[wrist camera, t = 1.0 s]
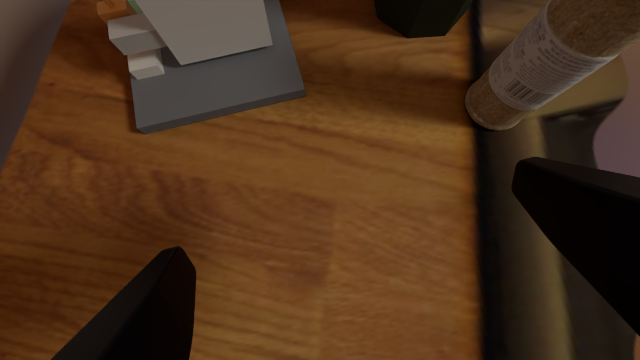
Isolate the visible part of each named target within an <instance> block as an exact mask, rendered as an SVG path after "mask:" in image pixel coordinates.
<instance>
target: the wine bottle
mask: <svg viewBox="0 0 640 360" xmlns="http://www.w3.org/2000/svg"><path fill="white" fill-rule="evenodd" d="M374 1H375V7H376V13H377V18H378V19H380V20H381V21H383V22H384V23H386V24H387V25H389V26H390V27H392V28H393V29H395V30H396V31H398V32H399V33H401V34H402V35H404V36H405V37H407V38H418V37H433V36H445V35H446V34H447V33H448V32H449V30H450V29H451V28H452V27H453V26H454V25H455V23H456V22H457V21H458V20H459V19H460V18H461V17H462V15H463V14H464V13H465V12H466V10H467V9H468V7H469V5H470V4H471V2H472V0H374Z"/></svg>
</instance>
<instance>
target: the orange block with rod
mask: <svg viewBox="0 0 640 360" xmlns="http://www.w3.org/2000/svg"><path fill="white" fill-rule="evenodd" d="M97 12H98V16H99V17H100V18H101V19H102V20H103V21H104V22H105V23H106V25H107V26H108V22H107V20H112V19H117V18H122V17H127V16H132V15H136V14H137V12H136V11H135V10H134V8H133V7H132V6H131V4H130V3H129V2H128V0H103V1H102V2H97Z"/></svg>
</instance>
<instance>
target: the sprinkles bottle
mask: <svg viewBox="0 0 640 360" xmlns="http://www.w3.org/2000/svg"><path fill="white" fill-rule="evenodd" d="M639 40H640V0H550V1H549V2H548V3H547V4H546V5H545V6H544V7H543V8H542V10H541V11H540V12H539V13H538V14H537V15H536V16H535V17H534V18H533V19H532V21H531V22H530V23H529V24H528V25H527V26H526V27H525V28H524V29H523V31H522V32H521V33H520V34H519V35H518V36H517V37H516V38H515V39H514V40H513V41H512V42H511V44H510V45H509V46H508V47H507V48H506V49H505V50H504V51H503V52H502V53H501V54H500V55H499V57H498V58H497V59H496V60H495V61H494V62H493V64H492V65H491V67H490V68H489V69H488V70H487V71H486V72H485V73H484V74H483V75H482V76H481V78H480V79H479V80H478V81H476V82H475V83H473V84H472V85H471V87H470V88H469V89H468V91H467V93H466V96H465V105H466V109H467V111H468V113H469V115H470V116H471V118H472V119H473V120H474V121H475V122H476V123H477V124H479V125H480V126H483V127H485V128H487V129H491V130H497V131H498V130H505V129H509V128H511V127H513V126H515V125H516V124H518V123H519V122H520V120H521V119H522V118H524V117H525V116H527V115H528V114H530V113H531V112H533V111H534V110H536V109H538V108H540V107H541V106H543V105H544V104H546V103H547V102H549V101H550V100H552V99H553V98H555V97H556V96H558V95H559V94H561V93H562V92H564V91H566V90H567V89H569V88H570V87H572V86H573V85H575V84H576V83H578V82H579V81H581V80H582V79H584V78H585V77H587V76H588V75H590V74H591V73H593V72H594V71H596V70H597V69H599V68H600V67H602V66H603V65H605V64H606V63H608V62H609V61H611V60H612V59H614V58H615V57H616V56H617V55H619V54H620V53H621V52H623V51H624V50H626V49H627V48H628V47H630V46H631V45H632V44H634V43H636V42H637V41H639Z"/></svg>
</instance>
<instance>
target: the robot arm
mask: <svg viewBox="0 0 640 360" xmlns="http://www.w3.org/2000/svg"><path fill="white" fill-rule="evenodd" d="M511 188H512V192H513V194H514V196H515V197H516V198H517V200H518V201H519V202H520V203H521V205H522V206H523V207H524V209H525V210H526V211H527V212H528V214H529V215H530V216H531V218H532V219H533V220H534V222H535V223H536V224H537V225H538V227H539V228H540V229H541V231H542V232H543V233H544V234H545V236H546V237H547V238H548V239H549V240H550V242H551V243H552V244H553V245H554V246H555V247H556V248H557V249H558V250H559V251H560V252H561V254H562V255H563V256H564V257H565V258H566V259H567V260H568V261H569V262H570V263H571V264H572V265H573V266H574V267H575V268H576V269H577V270H578V272H579V273H580V274H581V275H582V276H583V277H584V278H585V279H586V280H587V281H588V282H589V283H590V284H591V285H592V286H593V287H594V289H595V290H596V291H597V292H598V293H599V294H600V295H601V296H602V297H603V298H604V299H605V300H606V301H607V302H608V303H609V304H610V306H611V307H612V308H613V309H614V310H615V311H616V312H617V313H618V314H619V315H620V316H621V317H622V318H623V319H624V320H625V321H626V322H627V324H628V325H629V326H630V327H631V328H632V329H633V330H634V331H635V332H636V333H637V334H638V335H639V336H640V178H639V177H634V176H630V175H625V174H620V173H614V172H610V171H605V170H600V169H595V168H590V167H585V166H580V165H575V164H570V163H565V162H560V161H555V160H550V159H545V158H540V157H531V158H527V159H523V160H520V161H518V163H517V164H516V167H515V171H514V176H513V180H512V185H511ZM195 291H196V270H195V267H194V265H193V264H192V262H191V261H190V259H189V258H188V256H187V254H186V253H185V251H184V250H183V249H182V248H181V247H179V246H176V247H172V248H168V249H165V250H162V251H161V252H160V253H159V254H158V255H157V256H156V257H155V258H154V259H153V260H152V261H151V262H150V263H149V264H148V265H147V266H146V267H145V268H144V269H143V270H142V271H141V272H140V273H138V274H137V275H136V276H135V277H134V278H133V279H132V280H131V281H130V282H129V283H128V284H127V285H126V286H125V287H124V288H123V289H122V290H121V291H120V292H119V293H118V294H117V295H116V296H115V297H114V298H113V299H112V300H111V301H110V302H109V303H108V304H107V305H106V306H105V307H104V308H103V309H102V310H101V311H100V312H99V313H98V314H97V315H96V316H95V317H94V318H93V319H92V320H91V321H89V322H88V323H87V324H86V325H85V326H84V327H83V328H82V329H81V330H80V331H79V332H78V333H77V334H76V335H75V336H74V337H73V338H72V339H71V340H70V341H69V342H68V343H67V344H66V345H65V346H64V347H63V348H62V349H61V350H60V351H59V352H58V353H57V354H56V355H55V356H54V357H53V358H52V359H51V360H189V357H190V350H191V344H192V337H193V327H194V310H195Z"/></svg>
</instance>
